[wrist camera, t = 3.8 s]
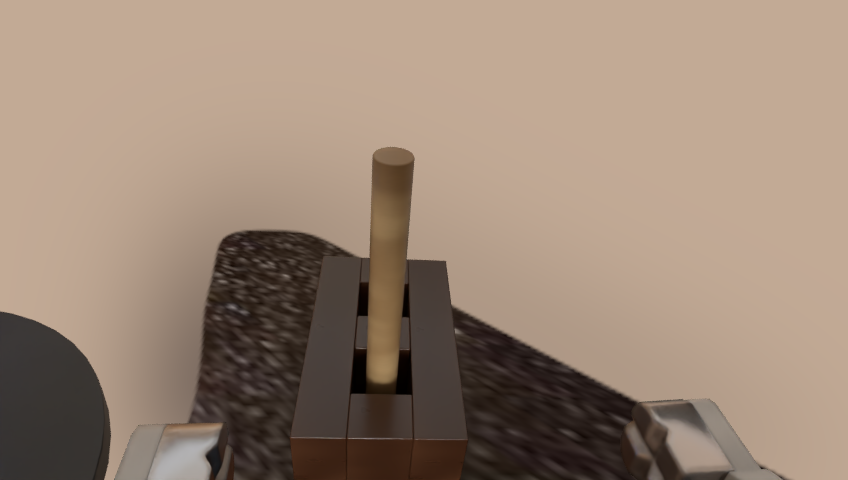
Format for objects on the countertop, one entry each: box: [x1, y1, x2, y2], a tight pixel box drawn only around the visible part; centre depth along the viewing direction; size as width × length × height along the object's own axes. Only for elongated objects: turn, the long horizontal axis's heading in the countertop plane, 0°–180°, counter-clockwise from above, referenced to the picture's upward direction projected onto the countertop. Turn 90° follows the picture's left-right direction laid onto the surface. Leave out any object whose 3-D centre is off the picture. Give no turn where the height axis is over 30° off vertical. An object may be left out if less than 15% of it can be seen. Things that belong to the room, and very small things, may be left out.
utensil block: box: [290, 256, 468, 480], centre depth 32 cm, size 8×14×8 cm, turn 2°
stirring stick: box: [366, 147, 414, 394], centre depth 26 cm, size 2×2×20 cm
